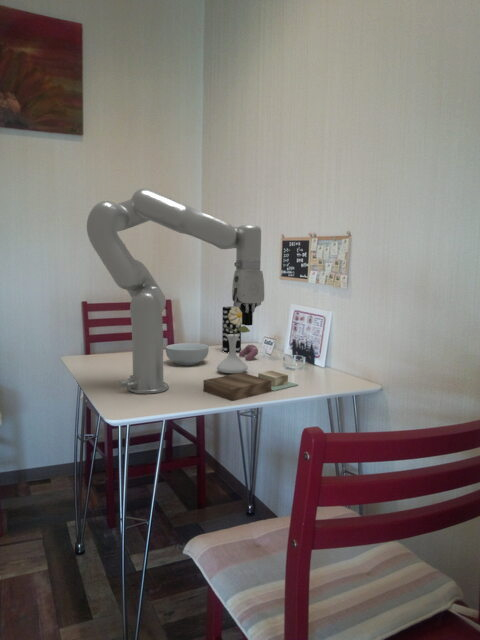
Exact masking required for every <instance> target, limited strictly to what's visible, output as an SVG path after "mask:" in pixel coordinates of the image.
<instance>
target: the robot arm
mask: <svg viewBox="0 0 480 640" xmlns="http://www.w3.org/2000/svg"><path fill="white" fill-rule="evenodd" d="M88 214H89V215H88V217H87V221H86V232H87V236H88V239H89V243H90V244H91V246H92V248H93V249H94V251H95V253H96V254H97V256H98V257H99V259H100V260H101V262H102V263H103V265H104V266H105V268H106V270H107V271H108V273H109V275H110V276H111V277H112V279H113V281H114V283H115V284H116V285H117V286H118V287H119V289H120V288H121V289H122V290H124V291H125V290H126V291H127V293H128V294H129V296H130V297H131V300H130V305H129V306H130V308H129V313H130V321H131V341H132V349H131V350H132V375H129V378H127V379H124V380H123V379H122V380H118V387H119V388H123V387H127V390H128V391H129V392H130V391H131V393H133V392H134V394H139V395H140V394H143V395H145V394H147V395H149V394H159V393H162V392H163V393H164V392H165V391H167V390H169V386H170V385H169V384H168V382H166V381H164V325H163V324H164V322H163V312H164V310H165V308H166V305H167V300H166V296H165V294H164V292H163V290H162V289H161V288H160V285H159V284H158V283H157V281H156V280H155V278H154V277H153V275H152V273H151V272H150V271H149V269H148V268H147V266H146V265H145V264H144V263H143V262H141V261H140V260H137V259H135V258H134V257H133V256H132V254H131V252H130V250H129V249H128V248H127V246H126V244H125V243H124V241H123V240H122V239H121V237H120V235H119V233H118V232H122V231H125V230H128V229H131V228H134V227H136V226H139V225H142V224H145V223H147V222H149V221H151V222H153V223H155V224H158V225H160V226H162V227H165V228H167V229H170V230H172V231H173V232H177V233H179V234H183V235H188V236H190V237H193V238H196V239H198V240H201V241H204V242H206V243H207V244H210V245H213V246H215V247H216V248H218V249H219V250H230V249H235V252H236V255H235V256H236V257H235V258H236V262H235V261H234V263H233V264H234V267H235V270H234V273H233V274H234V275H233V279H232V289H231V290H232V291H231V298H232V301H233V306H232V307H239V309H240V311H241V312H242V325H241V326H246V327H247V326H253V317H254V315H253V314H254V312H255V309H256V308H257V307H260V306H261V305H262V303H263V302H264V301H265V280H264V279H265V278H264V273H263V270H261V265H262V264H261V256H262V255H261V254H262V230H261V227H260V226H258V225H252V224H251V225H249V224H247V225H246V224H245V225H240V226H233V225H232V224H229V223H228V222H226V221H223V220H221V219H219V218H217V217H215V216H214V217H213V216H212V215H209V214H207V213H204V212H202V211H200V210H197V209H196V208H193V207H191V206H189V205H187V204H184V203H183V202H180V201H178V200H175V199H172V198H171V197H168V196H166V195H163V194H161V193H158V192H156V191H154V190H151V189H149V188H140V189H138V190H136V191H135V192H134V193H133V195H132V197H131V198H130V199H128V200H125V201H122V202H119V203H116V202H114V201H109V200H102V201H100V202H98V203H96V204H95V205H94V206H93V207H92V209H91V210H90V212H89V213H88Z"/></svg>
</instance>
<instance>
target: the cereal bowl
mask: <svg viewBox="0 0 480 640" xmlns="http://www.w3.org/2000/svg"><path fill="white" fill-rule="evenodd" d="M209 350H210V349H209V345H208V344H204V343H197V342H196V343H195V342H184V343H183V342H182V343H174V344H169V345H166V346H165V354H166V357H167V358H168V359H169V360H170V361H172V362H174V363H176V364H178V365H179V366H194V365H197V364H198V363H200V362H202V361H204V360H205V359H206V358H207V356H208V354H209Z"/></svg>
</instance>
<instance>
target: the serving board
mask: <svg viewBox="0 0 480 640" xmlns="http://www.w3.org/2000/svg"><path fill="white" fill-rule="evenodd" d="M271 383H272V381H271V380H267V379H264V378H260V377H258V376H255V375H252V374H249V373H244V372H242V373H234V374H228V375H224V376H217V377H212V378H209V379H208V378H207V379H203V392H206V393H208V394H211V395H214V396H217V397H220V398H223V399H226V400H228V401H238V400H242V399H245V398H251V397H254V396H259V395H262V394H267V393H271V392H272V391H271Z"/></svg>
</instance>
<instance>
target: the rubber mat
mask: <svg viewBox="0 0 480 640" xmlns="http://www.w3.org/2000/svg"><path fill="white" fill-rule="evenodd" d="M297 386H299V384H297V383H293V382H290V381H288V384H285V385H281V386H276V387H274V386H271V392H274V393H275V392H278V391H282V390H287V389H290V388H294V387H297Z"/></svg>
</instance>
